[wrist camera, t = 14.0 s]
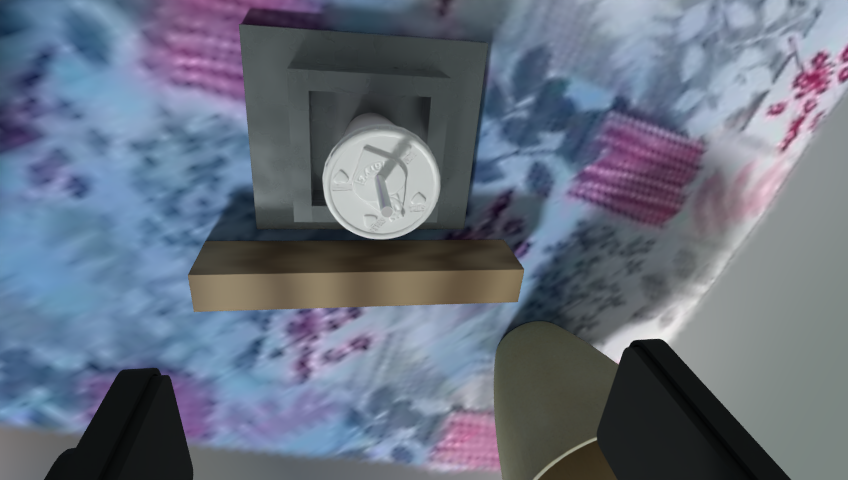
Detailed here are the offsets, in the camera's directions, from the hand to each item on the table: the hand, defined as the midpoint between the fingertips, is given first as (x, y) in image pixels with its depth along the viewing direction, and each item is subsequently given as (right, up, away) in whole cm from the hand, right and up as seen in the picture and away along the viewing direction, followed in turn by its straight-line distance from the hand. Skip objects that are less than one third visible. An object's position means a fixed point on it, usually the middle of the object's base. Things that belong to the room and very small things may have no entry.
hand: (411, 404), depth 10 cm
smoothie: (-4, +11, +24) cm, 26 cm away
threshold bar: (-5, +2, +29) cm, 30 cm away
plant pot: (+11, -7, +38) cm, 40 cm away
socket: (-4, +11, +25) cm, 27 cm away
